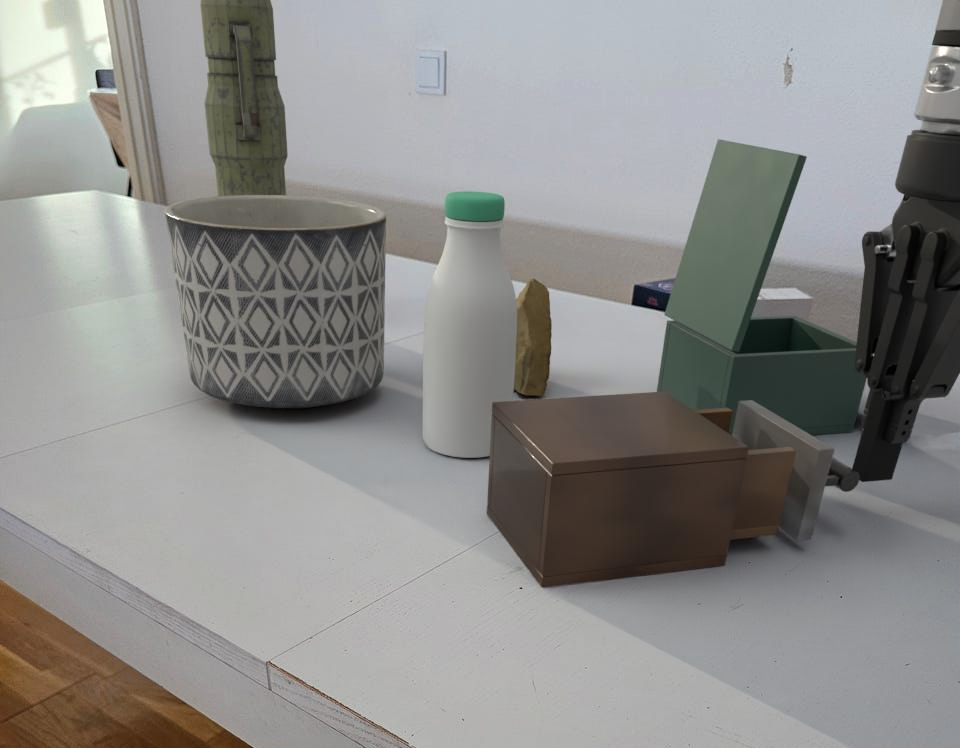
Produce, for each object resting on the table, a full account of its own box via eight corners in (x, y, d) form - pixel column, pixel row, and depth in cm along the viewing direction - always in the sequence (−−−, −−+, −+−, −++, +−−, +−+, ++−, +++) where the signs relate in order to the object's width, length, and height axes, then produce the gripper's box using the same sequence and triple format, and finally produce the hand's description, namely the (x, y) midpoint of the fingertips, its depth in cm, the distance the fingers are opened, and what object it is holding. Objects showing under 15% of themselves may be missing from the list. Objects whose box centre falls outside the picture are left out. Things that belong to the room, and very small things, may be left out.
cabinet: (649, 498, 74) (665, 390, 69) (725, 565, 64) (749, 447, 60) (486, 514, 70) (491, 401, 65) (541, 588, 61) (552, 463, 56)
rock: (573, 381, 91) (583, 341, 98) (524, 307, 87) (538, 271, 95) (485, 432, 96) (501, 391, 104) (435, 365, 92) (455, 326, 100)
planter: (269, 353, 102) (257, 188, 94) (422, 383, 96) (424, 209, 87) (144, 400, 88) (115, 210, 79) (315, 440, 81) (304, 237, 72)
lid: (724, 141, 83) (717, 139, 83) (807, 156, 73) (799, 154, 73) (671, 316, 90) (663, 315, 90) (739, 352, 80) (731, 351, 80)
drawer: (781, 478, 76) (800, 396, 72) (862, 533, 68) (888, 444, 64) (592, 496, 71) (602, 409, 67) (654, 558, 63) (669, 463, 59)
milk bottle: (521, 457, 80) (539, 201, 69) (434, 463, 78) (438, 201, 67) (495, 426, 86) (507, 187, 75) (413, 431, 84) (414, 186, 73)
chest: (778, 391, 99) (795, 315, 95) (852, 432, 89) (874, 349, 85) (655, 399, 95) (666, 320, 91) (718, 443, 85) (734, 356, 81)
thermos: (285, 300, 124) (264, -23, 105) (307, 322, 114) (288, -27, 96) (218, 303, 120) (182, -29, 102) (234, 326, 111) (199, -34, 92)
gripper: (858, 119, 63) (781, 449, 76) (1002, 138, 53) (885, 516, 66) (948, 123, 65) (858, 443, 78) (1103, 141, 55) (971, 507, 68)
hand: (871, 476), depth 72 cm, fingers closed
